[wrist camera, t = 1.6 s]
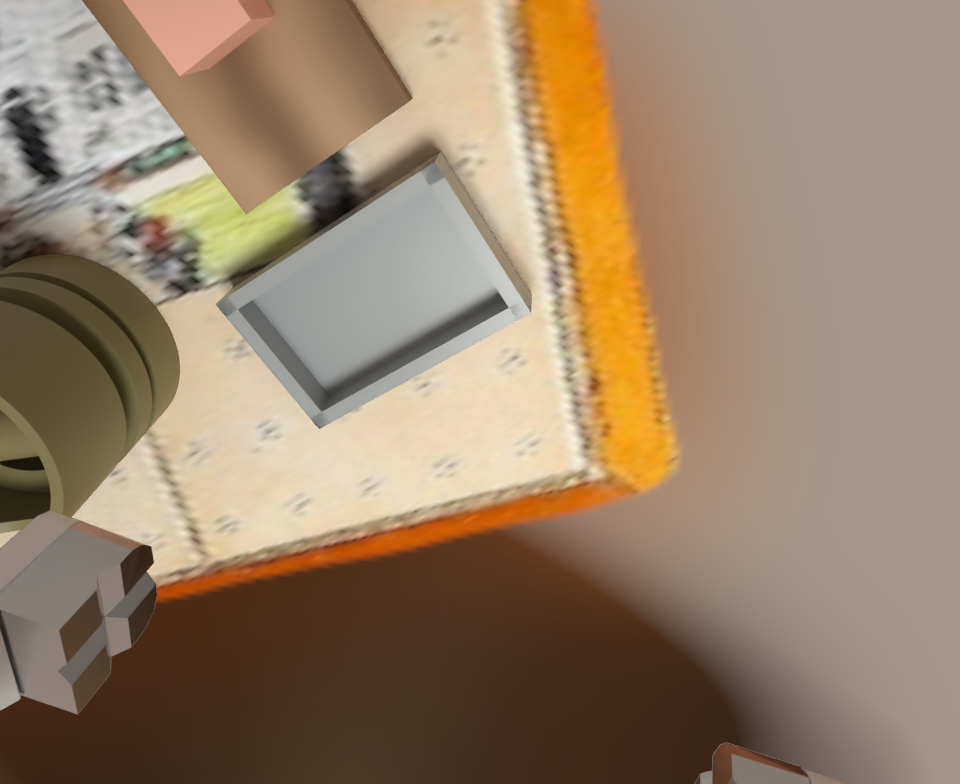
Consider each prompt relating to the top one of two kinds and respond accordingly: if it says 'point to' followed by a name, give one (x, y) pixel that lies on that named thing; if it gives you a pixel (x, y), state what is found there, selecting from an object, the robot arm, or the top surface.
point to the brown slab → (270, 92)
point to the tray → (379, 294)
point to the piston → (74, 381)
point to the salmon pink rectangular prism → (199, 28)
